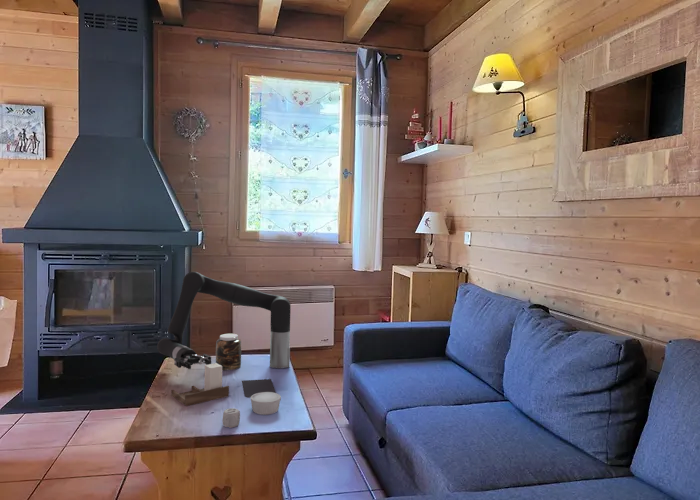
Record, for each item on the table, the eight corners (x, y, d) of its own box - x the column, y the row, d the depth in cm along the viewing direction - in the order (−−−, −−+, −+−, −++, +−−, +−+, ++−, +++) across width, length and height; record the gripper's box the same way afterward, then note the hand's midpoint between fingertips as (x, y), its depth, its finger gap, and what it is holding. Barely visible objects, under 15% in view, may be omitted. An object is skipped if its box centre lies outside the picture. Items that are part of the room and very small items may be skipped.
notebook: (241, 384, 221) (244, 401, 201) (241, 380, 221) (244, 397, 201) (271, 382, 225) (277, 399, 204) (271, 378, 224) (277, 395, 204)
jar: (215, 363, 248) (216, 332, 247) (240, 362, 250) (241, 332, 249) (215, 371, 236) (215, 338, 235) (241, 369, 239) (241, 338, 238)
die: (222, 427, 175) (222, 413, 175) (225, 421, 180) (225, 407, 180) (236, 428, 175) (237, 413, 175) (239, 422, 180) (240, 408, 180)
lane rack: (171, 397, 201) (171, 385, 201) (212, 388, 212) (212, 377, 212) (186, 408, 191) (186, 395, 190) (228, 398, 202) (228, 386, 202)
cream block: (204, 395, 202) (204, 365, 202) (216, 392, 206) (216, 363, 205) (209, 398, 199) (210, 368, 198) (221, 396, 202) (222, 366, 201)
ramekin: (251, 404, 197) (252, 391, 196) (281, 404, 198) (281, 391, 197) (248, 416, 185) (248, 402, 185) (279, 416, 186) (280, 402, 186)
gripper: (168, 349, 217) (183, 358, 205) (200, 345, 226) (216, 353, 214) (167, 366, 218) (183, 377, 205) (199, 361, 227) (216, 371, 215)
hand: (200, 365), depth 210 cm, fingers open, 8 cm apart
